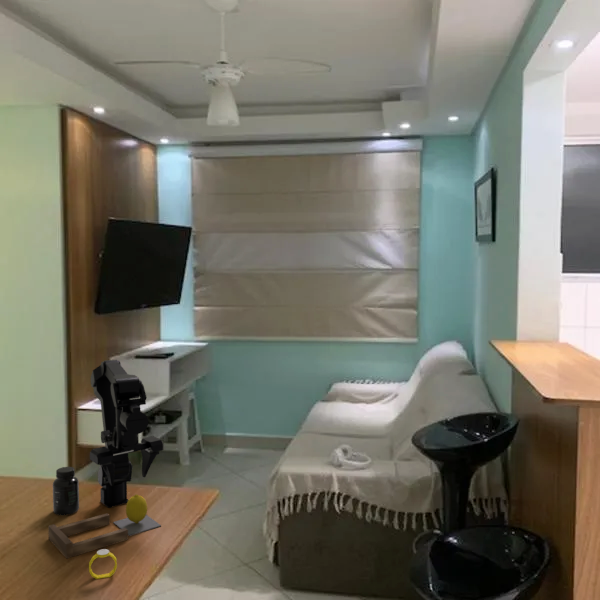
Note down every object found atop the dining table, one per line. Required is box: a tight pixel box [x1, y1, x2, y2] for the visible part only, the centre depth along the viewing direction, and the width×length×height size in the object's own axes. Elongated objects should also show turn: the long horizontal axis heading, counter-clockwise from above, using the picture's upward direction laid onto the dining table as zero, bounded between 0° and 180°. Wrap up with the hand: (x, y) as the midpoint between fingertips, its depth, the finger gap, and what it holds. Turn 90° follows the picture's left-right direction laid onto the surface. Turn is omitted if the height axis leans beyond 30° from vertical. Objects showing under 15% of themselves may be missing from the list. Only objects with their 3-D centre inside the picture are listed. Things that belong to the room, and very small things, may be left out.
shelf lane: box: [47, 512, 129, 559], centre depth 156 cm, size 16×13×4 cm
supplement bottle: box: [52, 466, 80, 516], centre depth 173 cm, size 7×7×12 cm
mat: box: [113, 514, 162, 537], centre depth 165 cm, size 9×10×1 cm
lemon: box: [125, 494, 148, 524], centre depth 165 cm, size 6×6×8 cm
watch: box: [88, 548, 118, 580], centre depth 138 cm, size 6×3×6 cm, turn 109°
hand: (128, 481), depth 165 cm, fingers open, 9 cm apart
